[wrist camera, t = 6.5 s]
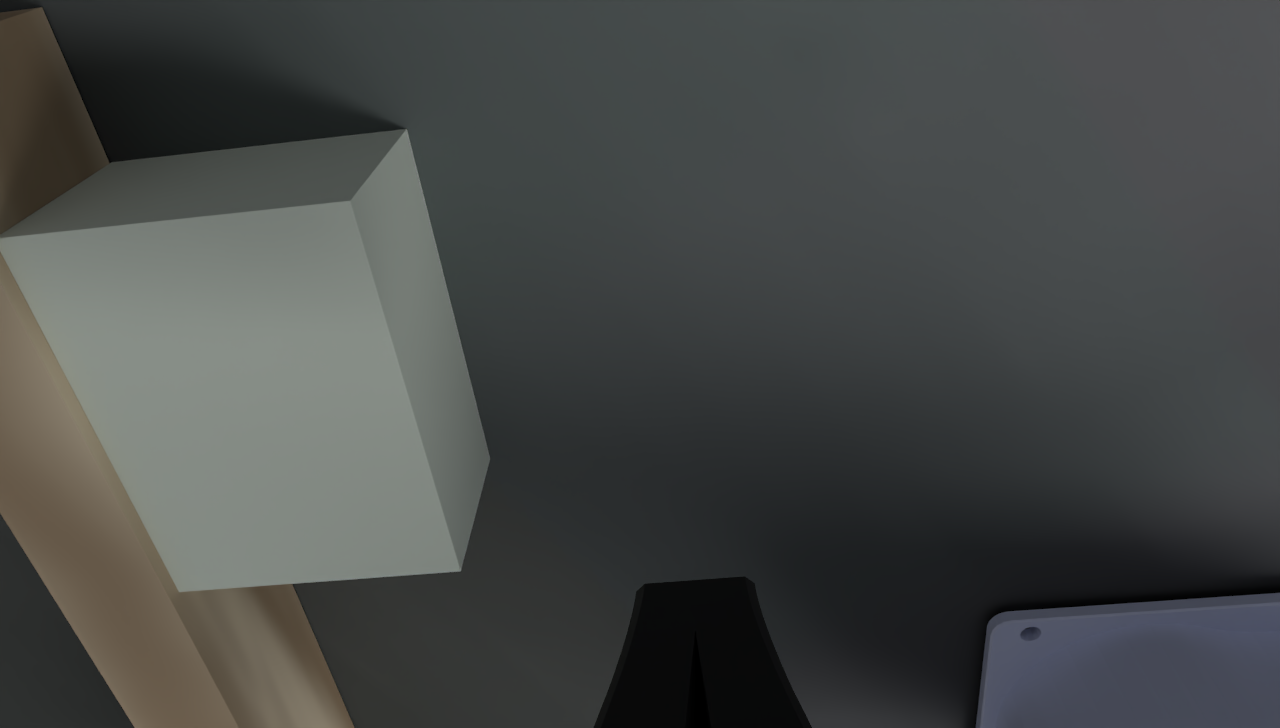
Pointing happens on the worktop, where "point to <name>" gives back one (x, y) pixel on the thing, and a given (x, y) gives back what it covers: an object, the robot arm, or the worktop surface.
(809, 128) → the worktop surface
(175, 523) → the sage block
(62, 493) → the birch board
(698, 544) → the worktop surface
